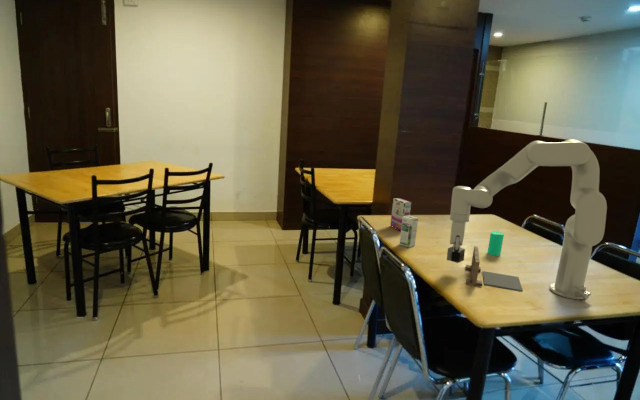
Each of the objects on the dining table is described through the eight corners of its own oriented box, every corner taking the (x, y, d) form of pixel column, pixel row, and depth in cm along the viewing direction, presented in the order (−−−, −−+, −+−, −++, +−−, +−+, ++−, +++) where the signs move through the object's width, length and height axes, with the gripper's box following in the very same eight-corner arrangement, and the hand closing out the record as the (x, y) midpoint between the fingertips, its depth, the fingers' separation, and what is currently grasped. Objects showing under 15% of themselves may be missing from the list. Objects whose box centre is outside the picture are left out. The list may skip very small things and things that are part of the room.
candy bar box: (408, 231, 234) (412, 202, 230) (401, 232, 232) (404, 202, 228) (397, 225, 244) (400, 197, 240) (389, 226, 241) (392, 198, 238)
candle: (501, 256, 203) (505, 232, 200) (488, 254, 204) (492, 231, 201) (499, 252, 209) (503, 228, 206) (486, 250, 210) (490, 227, 207)
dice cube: (463, 260, 177) (465, 248, 176) (457, 263, 174) (458, 251, 173) (453, 257, 181) (454, 245, 180) (446, 259, 177) (447, 248, 176)
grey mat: (518, 278, 178) (518, 276, 178) (522, 291, 165) (522, 290, 165) (482, 272, 182) (482, 271, 182) (484, 284, 169) (484, 283, 169)
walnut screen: (465, 266, 187) (468, 245, 184) (479, 269, 185) (483, 247, 183) (465, 284, 168) (469, 260, 166) (482, 287, 166) (485, 263, 164)
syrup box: (398, 244, 211) (402, 216, 207) (405, 242, 215) (408, 214, 211) (408, 247, 207) (411, 219, 203) (415, 245, 211) (418, 217, 208)
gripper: (450, 210, 182) (446, 250, 186) (449, 220, 166) (445, 264, 170) (469, 212, 180) (464, 252, 184) (469, 222, 164) (464, 266, 168)
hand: (455, 257), depth 177 cm, fingers closed on dice cube, 6 cm apart
